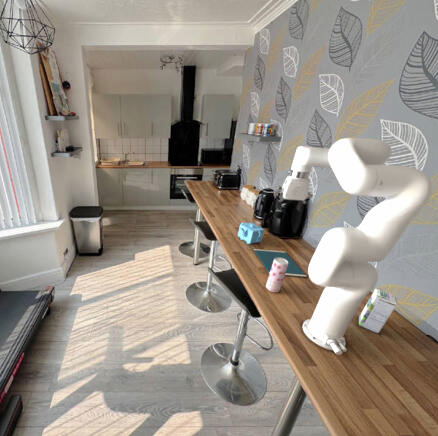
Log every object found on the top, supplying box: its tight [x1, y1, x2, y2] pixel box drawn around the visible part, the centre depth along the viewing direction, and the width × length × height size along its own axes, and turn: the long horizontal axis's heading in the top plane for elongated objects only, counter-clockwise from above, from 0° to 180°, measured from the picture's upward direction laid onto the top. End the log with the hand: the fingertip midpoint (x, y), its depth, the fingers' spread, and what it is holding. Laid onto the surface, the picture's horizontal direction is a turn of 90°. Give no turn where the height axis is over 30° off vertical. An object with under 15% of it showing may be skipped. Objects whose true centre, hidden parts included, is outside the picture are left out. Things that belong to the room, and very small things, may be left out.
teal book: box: [253, 248, 308, 278], centre depth 127 cm, size 24×18×1 cm
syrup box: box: [358, 288, 398, 334], centre depth 86 cm, size 6×6×14 cm
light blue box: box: [237, 222, 265, 245], centre depth 146 cm, size 16×18×11 cm
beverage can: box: [265, 257, 288, 293], centre depth 103 cm, size 6×6×15 cm
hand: (288, 209), depth 112 cm, fingers open, 9 cm apart
